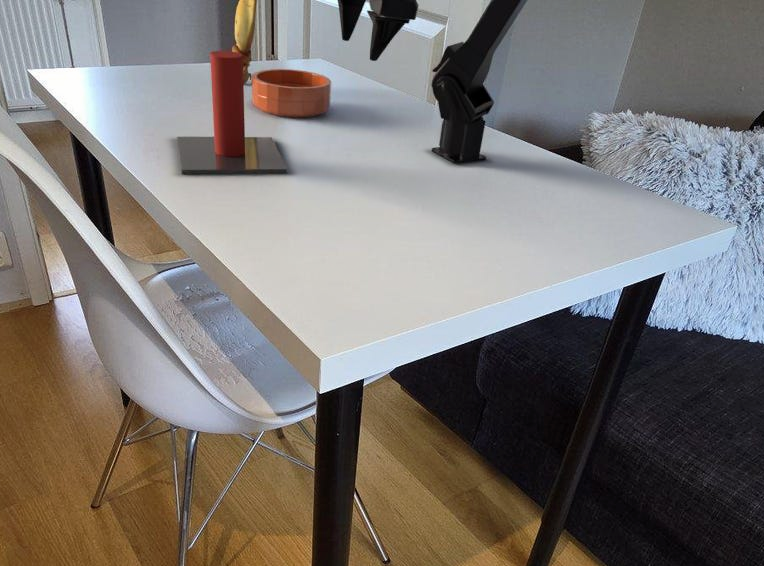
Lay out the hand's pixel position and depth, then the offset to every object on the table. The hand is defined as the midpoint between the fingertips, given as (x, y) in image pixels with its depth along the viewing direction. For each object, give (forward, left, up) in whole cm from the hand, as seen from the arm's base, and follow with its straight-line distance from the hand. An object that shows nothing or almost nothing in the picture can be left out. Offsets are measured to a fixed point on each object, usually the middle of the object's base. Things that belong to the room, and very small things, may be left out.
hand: (358, 50), depth 104 cm
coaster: (-7, +24, -12) cm, 28 cm away
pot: (+14, +4, -12) cm, 20 cm away
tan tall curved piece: (+31, +6, -13) cm, 34 cm away
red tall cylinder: (-7, +24, -12) cm, 28 cm away
